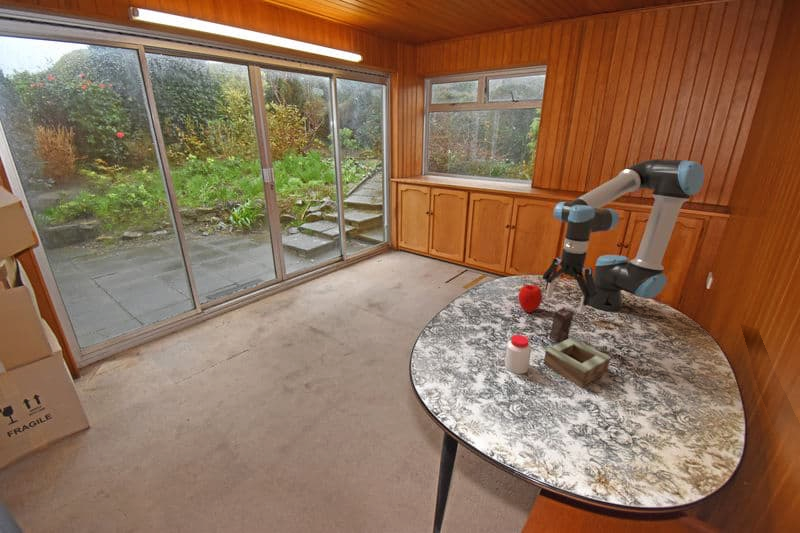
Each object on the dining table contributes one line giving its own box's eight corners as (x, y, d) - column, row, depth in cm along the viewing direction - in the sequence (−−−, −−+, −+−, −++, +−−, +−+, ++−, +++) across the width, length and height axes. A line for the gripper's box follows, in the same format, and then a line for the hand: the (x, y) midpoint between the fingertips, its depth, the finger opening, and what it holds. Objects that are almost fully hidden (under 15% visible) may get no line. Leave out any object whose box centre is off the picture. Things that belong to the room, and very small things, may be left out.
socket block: (568, 351, 127) (571, 337, 125) (606, 372, 116) (610, 357, 113) (543, 363, 120) (546, 349, 118) (581, 387, 109) (584, 371, 107)
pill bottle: (511, 356, 124) (515, 330, 120) (532, 366, 119) (536, 339, 115) (500, 366, 119) (503, 339, 115) (521, 377, 114) (525, 348, 110)
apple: (530, 303, 162) (534, 279, 158) (545, 313, 153) (549, 288, 149) (512, 307, 159) (515, 282, 155) (526, 317, 150) (529, 291, 146)
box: (559, 344, 131) (564, 316, 127) (549, 338, 134) (553, 311, 130) (568, 339, 134) (574, 311, 130) (558, 334, 138) (563, 307, 133)
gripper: (537, 243, 129) (530, 294, 137) (603, 262, 109) (590, 321, 117) (550, 240, 133) (542, 290, 141) (617, 258, 113) (603, 316, 121)
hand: (564, 304), depth 129 cm, fingers open, 13 cm apart
